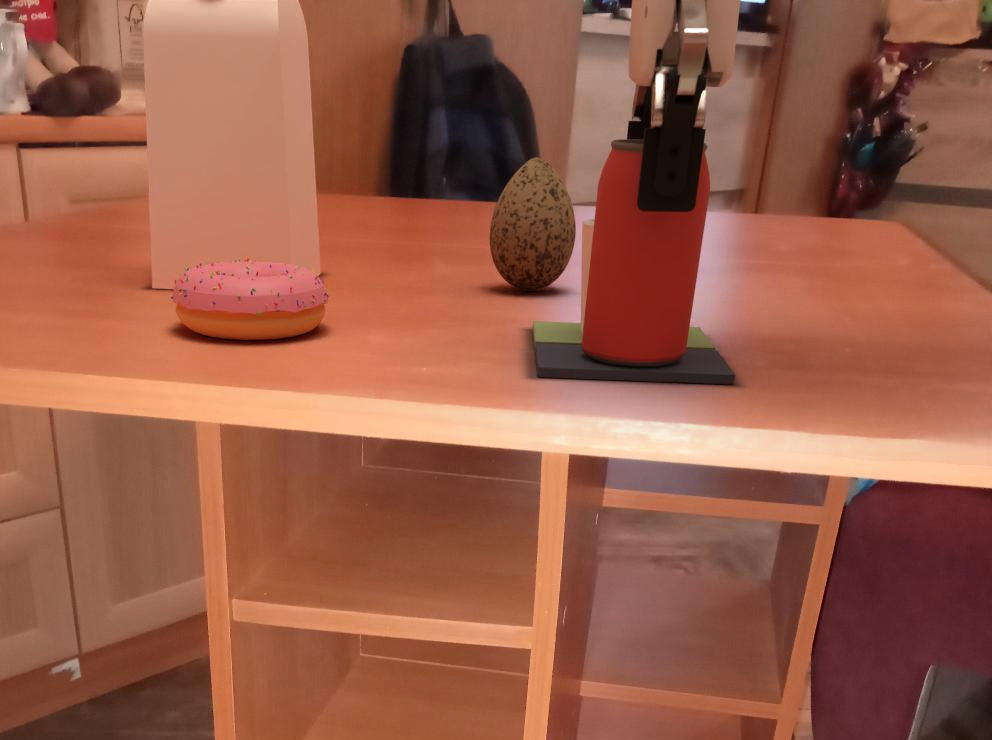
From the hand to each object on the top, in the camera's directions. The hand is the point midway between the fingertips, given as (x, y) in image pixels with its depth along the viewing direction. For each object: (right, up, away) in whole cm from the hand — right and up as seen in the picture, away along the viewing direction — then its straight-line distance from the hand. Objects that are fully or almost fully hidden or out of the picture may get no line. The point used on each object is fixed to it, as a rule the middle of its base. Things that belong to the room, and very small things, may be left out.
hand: (655, 202), depth 69 cm
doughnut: (-26, -2, +13) cm, 29 cm away
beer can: (0, -8, +5) cm, 9 cm away
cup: (0, -3, +12) cm, 12 cm away
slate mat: (0, -8, +5) cm, 10 cm away
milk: (-29, +9, +31) cm, 44 cm away
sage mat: (0, -4, +12) cm, 12 cm away
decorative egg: (-4, +8, +30) cm, 31 cm away
